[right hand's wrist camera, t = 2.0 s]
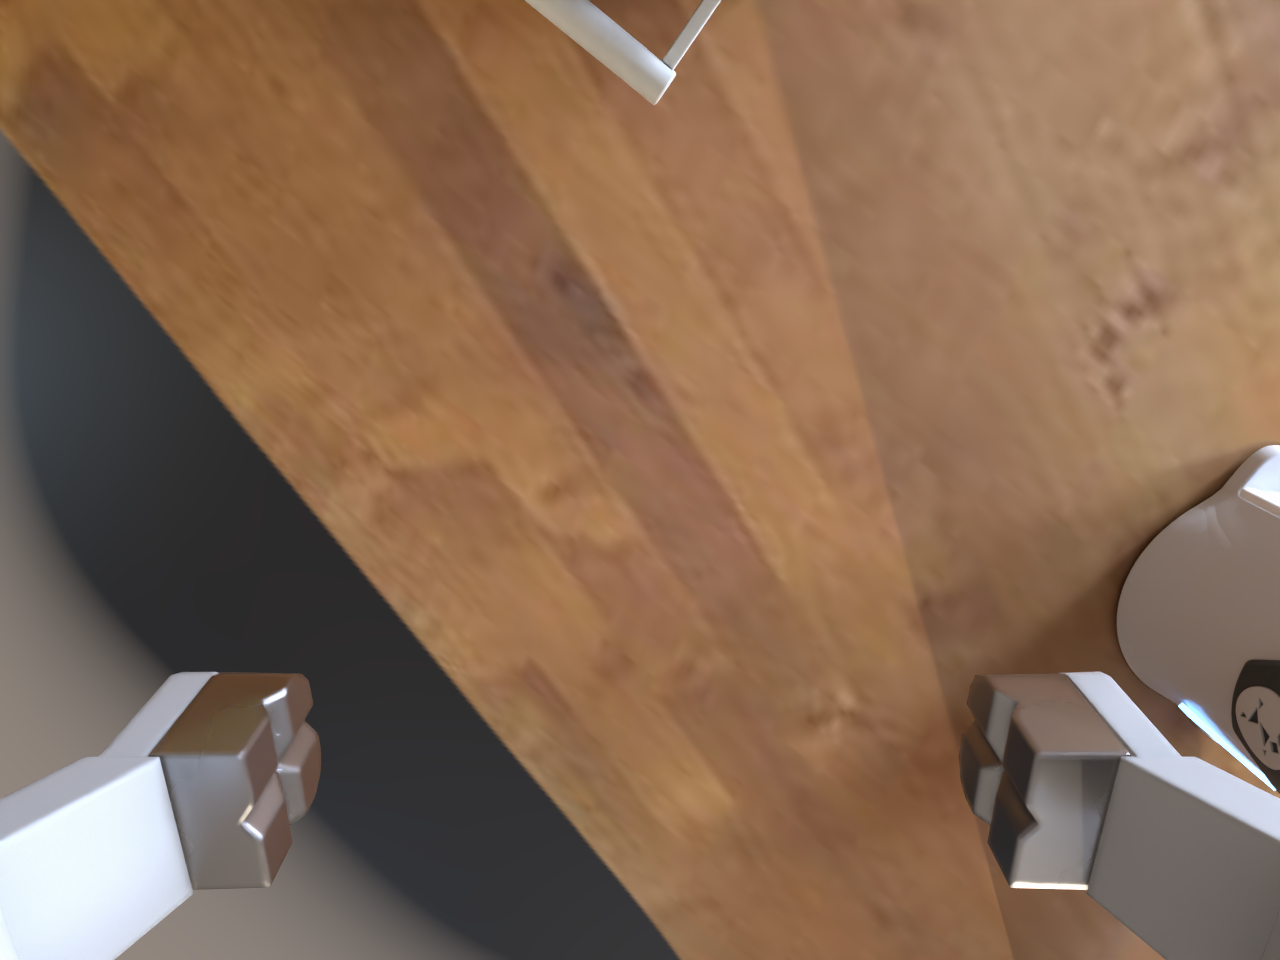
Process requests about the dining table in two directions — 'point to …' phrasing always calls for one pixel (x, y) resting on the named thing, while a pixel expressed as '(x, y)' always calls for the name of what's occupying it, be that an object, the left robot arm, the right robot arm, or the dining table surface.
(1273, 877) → the right robot arm
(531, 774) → the dining table surface
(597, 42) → the drawer
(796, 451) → the dining table surface
